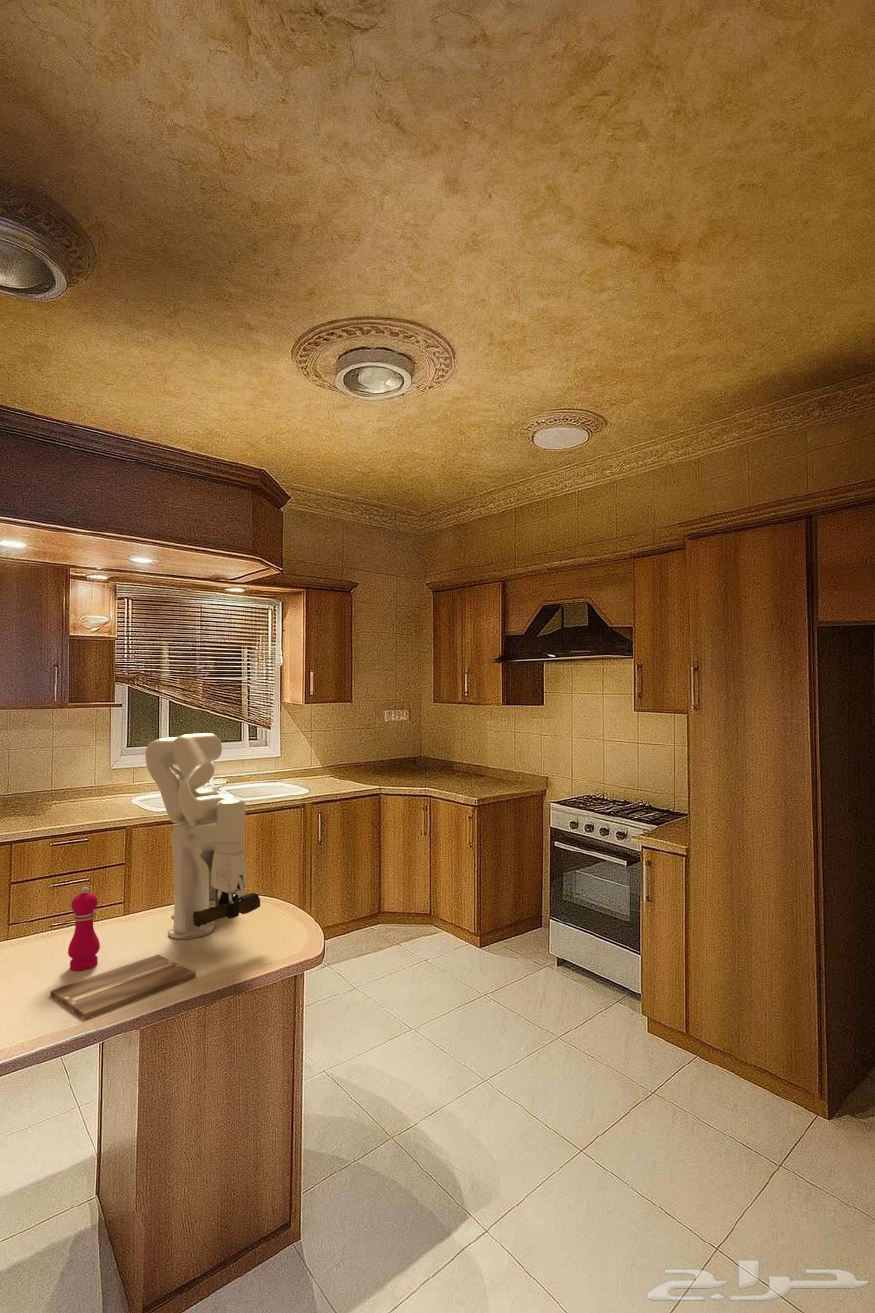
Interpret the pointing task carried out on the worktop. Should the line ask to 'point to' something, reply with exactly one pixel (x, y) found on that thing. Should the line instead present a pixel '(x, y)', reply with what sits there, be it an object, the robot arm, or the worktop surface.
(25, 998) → the worktop surface
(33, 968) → the worktop surface
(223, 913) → the hand tool
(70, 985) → the board
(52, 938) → the worktop surface
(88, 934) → the pepper mill
